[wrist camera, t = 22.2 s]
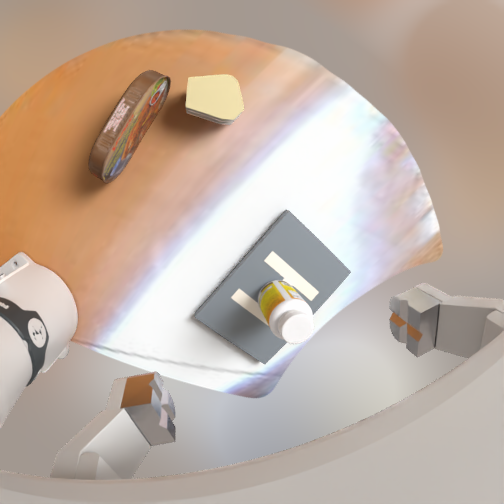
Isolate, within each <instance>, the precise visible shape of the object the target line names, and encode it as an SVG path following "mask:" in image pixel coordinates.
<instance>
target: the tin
mask: <svg viewBox="0 0 504 504" xmlns="http://www.w3.org/2000/svg"><path fill="white" fill-rule="evenodd" d="M170 83H171V81H170V78H169V77H168V76H164V75H162V74H160V73H158V72H156V71H153V70H149V71H145V72H144V73H142V74H140V75H139V76H138V77H137V78H136V79H135V80H134V81H133V82H132V83H131V84H130V86H129V87H128V88H127V90H126V91H125V93H124V94H123V96H122V97H121V99H120V100H119V102H118V104H117V105H116V107H115V108H114V110H113V111H112V113H111V115H110V117H109V118H108V120H107V122H106V123H105V125H104V127H103V129H102V130H101V132H100V134H99V136H98V138H97V140H96V141H95V143H94V146H93V148H92V151H91V154H90V157H89V170H90V172H91V173H92V174H93V175H95V176H96V177H98V178H100V179H101V180H103V181H104V182H105V183H109V182H111V181H113V180H114V179H115V178H116V177H117V176H118V175H119V174H120V173H121V172H122V171H123V169H124V168H125V167H126V165H127V164H128V162H129V160H130V159H131V157H132V155H133V154H134V152H135V150H136V148H137V147H138V145H139V143H140V142H141V140H142V138H143V136H144V135H145V133H146V132H147V130H148V128H149V127H150V125H151V124H152V122H153V120H154V119H155V117H156V116H157V114H158V112H159V111H160V109H161V107H162V106H163V104H164V102H165V100H166V97H167V95H168V92H169V89H170Z"/></svg>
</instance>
